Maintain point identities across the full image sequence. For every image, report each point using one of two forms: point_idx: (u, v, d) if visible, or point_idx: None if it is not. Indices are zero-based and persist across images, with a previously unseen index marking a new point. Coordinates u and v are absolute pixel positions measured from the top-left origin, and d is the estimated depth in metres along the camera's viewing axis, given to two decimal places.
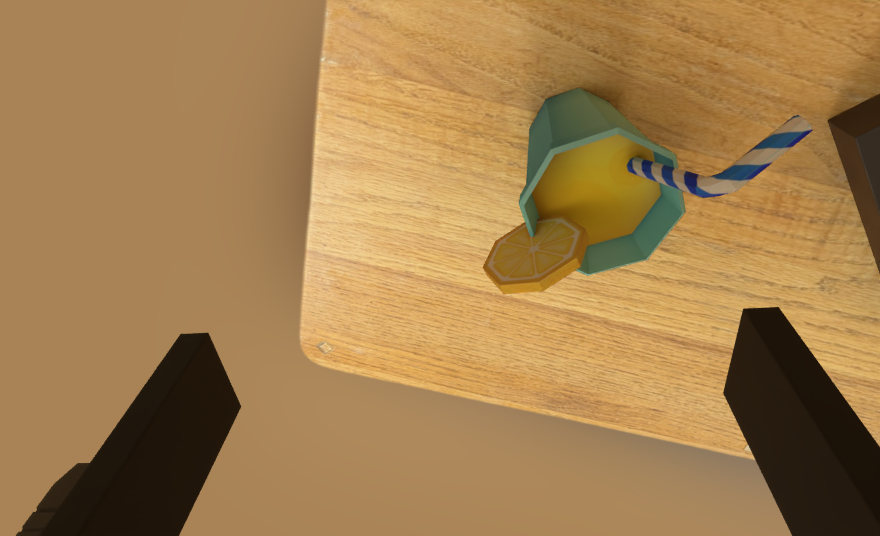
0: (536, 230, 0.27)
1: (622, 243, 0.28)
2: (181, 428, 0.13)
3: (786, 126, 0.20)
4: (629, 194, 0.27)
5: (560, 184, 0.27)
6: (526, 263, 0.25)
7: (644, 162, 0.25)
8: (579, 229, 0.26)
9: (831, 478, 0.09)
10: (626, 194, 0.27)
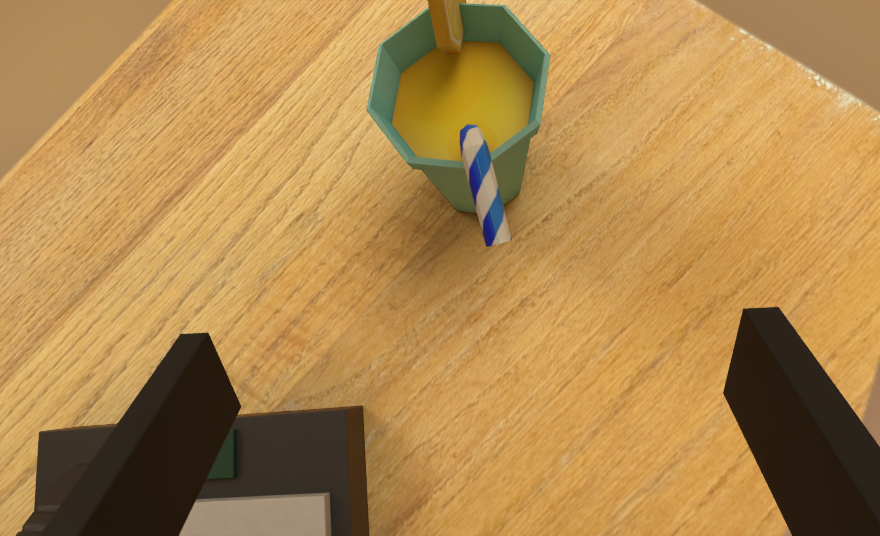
0: (460, 15, 0.23)
1: (389, 105, 0.24)
2: (181, 428, 0.13)
3: (506, 223, 0.17)
4: (440, 134, 0.24)
5: (487, 72, 0.24)
6: None
7: None
8: (452, 41, 0.22)
9: (831, 478, 0.09)
10: (441, 132, 0.24)
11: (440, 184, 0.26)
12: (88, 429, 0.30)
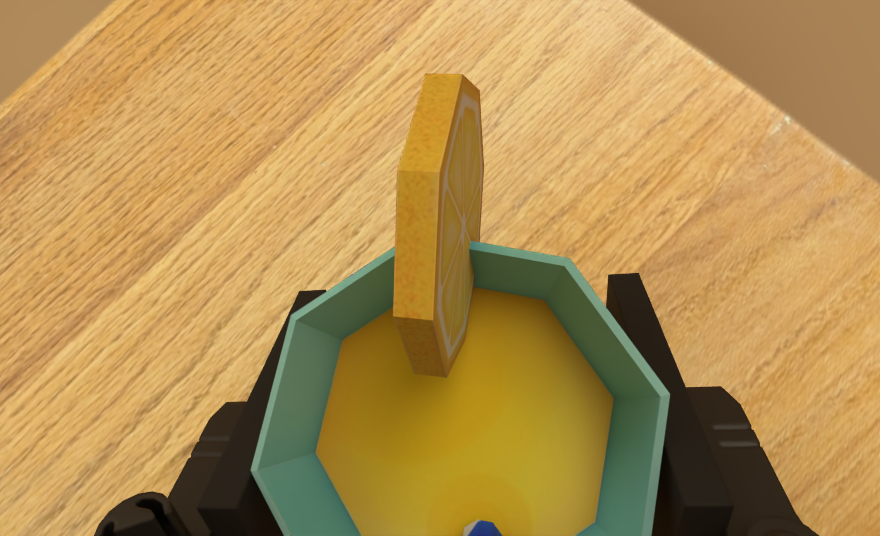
0: (471, 262, 0.11)
1: (310, 424, 0.12)
2: None
3: None
4: (413, 492, 0.12)
5: (517, 363, 0.12)
6: (459, 185, 0.09)
7: None
8: (450, 360, 0.09)
9: None
10: (416, 485, 0.12)
11: None
12: None
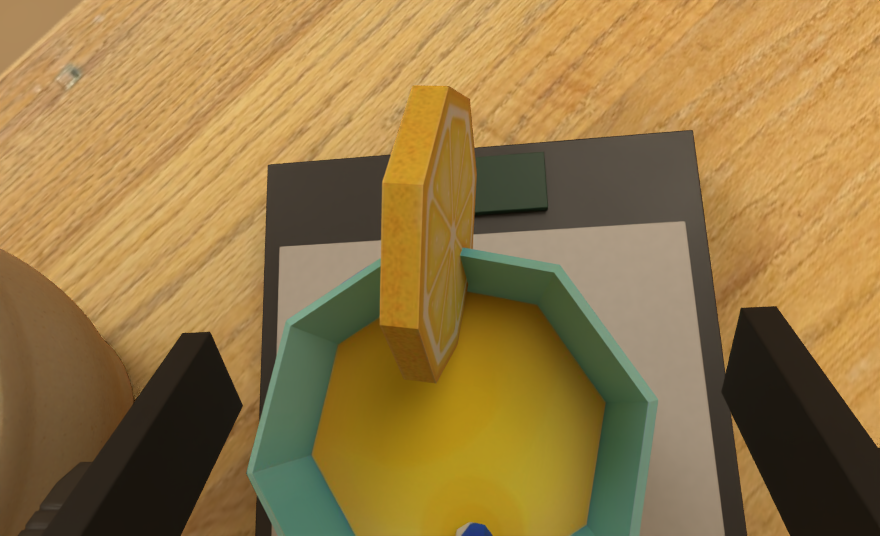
0: (462, 268, 0.11)
1: (305, 427, 0.12)
2: (183, 427, 0.13)
3: None
4: (407, 494, 0.12)
5: (510, 368, 0.12)
6: (447, 195, 0.09)
7: None
8: (439, 366, 0.09)
9: (828, 476, 0.09)
10: (410, 488, 0.12)
11: None
12: (336, 160, 0.24)
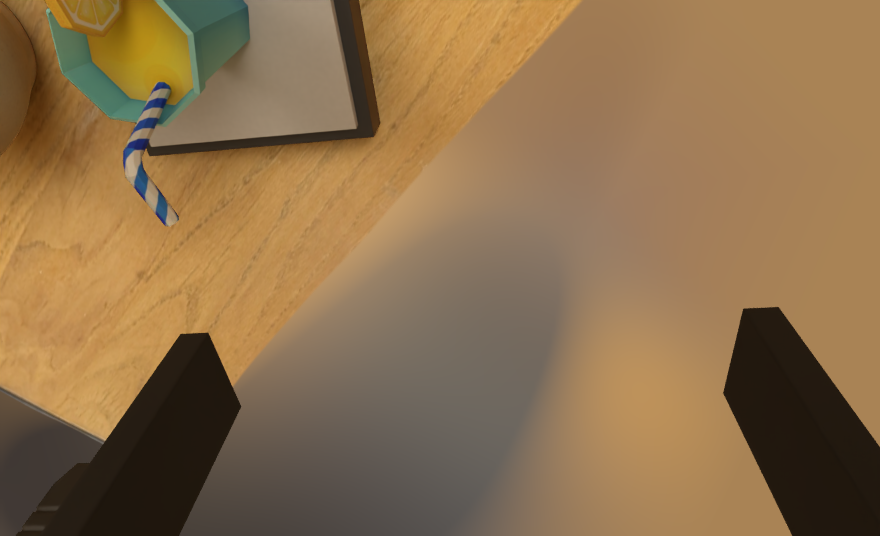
0: None
1: (82, 51, 0.29)
2: (181, 428, 0.13)
3: (171, 212, 0.28)
4: (135, 73, 0.30)
5: (156, 17, 0.28)
6: None
7: (164, 100, 0.29)
8: (104, 30, 0.26)
9: (831, 478, 0.09)
10: (135, 71, 0.30)
11: None
12: None
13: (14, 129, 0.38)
